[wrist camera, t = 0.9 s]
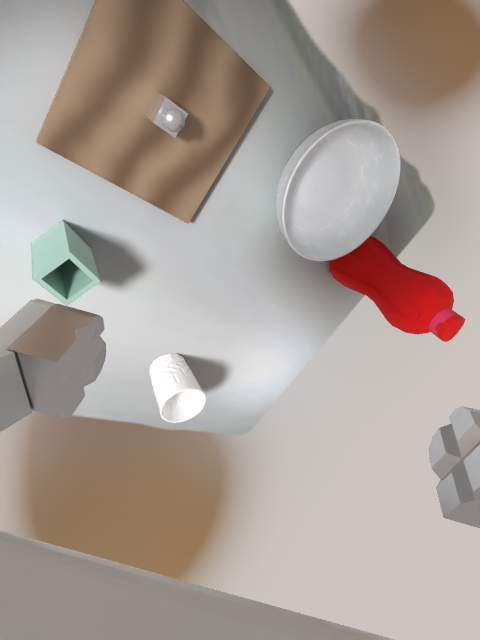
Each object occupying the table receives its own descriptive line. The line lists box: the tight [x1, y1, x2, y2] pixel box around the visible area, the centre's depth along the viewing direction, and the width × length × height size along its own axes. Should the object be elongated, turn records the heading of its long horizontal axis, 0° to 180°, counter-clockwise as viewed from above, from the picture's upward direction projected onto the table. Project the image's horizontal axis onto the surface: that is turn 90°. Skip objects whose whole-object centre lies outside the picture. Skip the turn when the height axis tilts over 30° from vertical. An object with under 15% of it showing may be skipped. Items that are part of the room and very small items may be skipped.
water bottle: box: [330, 236, 465, 341], centre depth 64 cm, size 9×11×25 cm
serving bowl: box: [276, 119, 401, 261], centre depth 58 cm, size 21×21×7 cm
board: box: [37, 0, 270, 224], centre depth 44 cm, size 20×20×2 cm
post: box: [146, 93, 188, 138], centre depth 42 cm, size 3×3×5 cm
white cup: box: [150, 353, 206, 423], centre depth 66 cm, size 8×8×10 cm
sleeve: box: [31, 220, 101, 306], centre depth 46 cm, size 5×5×9 cm
